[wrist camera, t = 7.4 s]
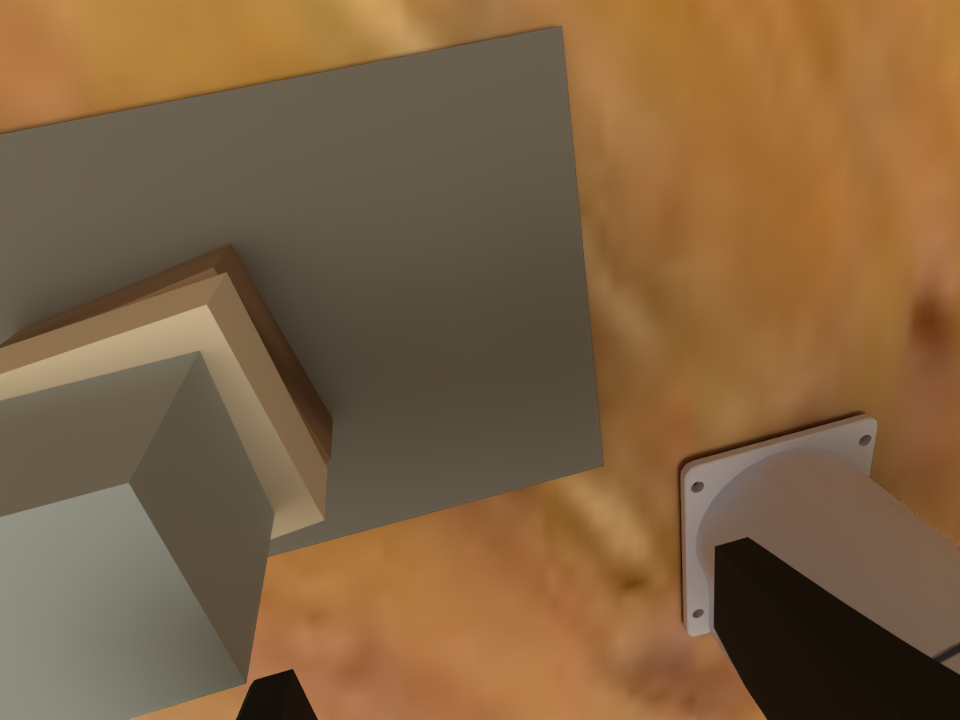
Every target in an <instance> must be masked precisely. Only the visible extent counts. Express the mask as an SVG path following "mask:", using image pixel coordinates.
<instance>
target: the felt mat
mask: <svg viewBox="0 0 960 720" xmlns="http://www.w3.org/2000/svg"><path fill="white" fill-rule="evenodd" d="M228 244H231V246H232V247H233V249H234V251H235V252H236V254H237V256H238V258H239V259H240V261H241V263H242V264H243V266H244V268H245V270H246V271H247V273H248V275H249V276H250V278H251V280H252V282H253V283H254V285H255V287H256V288H257V290H258V292H259V294H260V295H261V297H262V299H263V300H264V302H265V304H266V306H267V307H268V309H269V311H270V312H271V314H272V316H273V318H274V319H275V321H276V323H277V324H278V326H279V328H280V330H281V331H282V333H283V335H284V336H285V338H286V340H287V342H288V343H289V345H290V347H291V348H292V350H293V352H294V354H295V355H296V357H297V359H298V360H299V362H300V364H301V366H302V367H303V369H304V371H305V372H306V374H307V376H308V378H309V379H310V381H311V383H312V384H313V386H314V388H315V390H316V391H317V393H318V395H319V396H320V398H321V400H322V402H323V403H324V405H325V407H326V408H327V410H328V412H329V413H330V415H331V417H332V419H333V429H332V451H331V460H330V461H327V462H325V465H326V467H327V483H326V501H325V519H324V521H321V522H318V523H315V524H313V525H310V526H307V527H304V528H302V529H299V530H296V531H293V532H290V533H288V534H285V535H282V536H279V537H276V538H274V539H271V540H270V545H269V551H268V557H269V556H273V555H277V554H281V553H284V552H288V551H292V550H295V549H299V548H303V547H306V546H310V545H314V544H317V543H321V542H325V541H329V540H332V539H336V538H340V537H343V536H347V535H351V534H354V533H358V532H362V531H365V530H369V529H373V528H377V527H380V526H384V525H388V524H391V523H395V522H399V521H402V520H406V519H410V518H413V517H417V516H421V515H425V514H428V513H432V512H436V511H439V510H443V509H447V508H450V507H454V506H458V505H461V504H465V503H469V502H473V501H476V500H480V499H484V498H487V497H491V496H495V495H498V494H502V493H506V492H509V491H513V490H517V489H521V488H524V487H528V486H532V485H535V484H539V483H543V482H546V481H550V480H554V479H557V478H561V477H565V476H569V475H572V474H576V473H580V472H583V471H587V470H591V469H594V468H598V467H602V466H604V463H603V452H602V442H601V431H600V420H599V410H598V399H597V389H596V378H595V368H594V357H593V347H592V336H591V326H590V315H589V305H588V294H587V284H586V273H585V263H584V252H583V242H582V231H581V221H580V210H579V199H578V189H577V178H576V168H575V157H574V147H573V136H572V126H571V115H570V105H569V94H568V84H567V73H566V63H565V52H564V42H563V31H562V26H559V27H554V28H548V29H543V30H538V31H533V32H528V33H523V34H517V35H512V36H507V37H502V38H497V39H491V40H486V41H481V42H476V43H471V44H466V45H460V46H455V47H450V48H445V49H440V50H435V51H429V52H424V53H419V54H414V55H409V56H404V57H398V58H393V59H388V60H383V61H378V62H372V63H367V64H362V65H357V66H352V67H347V68H341V69H336V70H331V71H326V72H321V73H316V74H310V75H305V76H300V77H295V78H290V79H285V80H279V81H274V82H269V83H264V84H259V85H253V86H248V87H243V88H238V89H233V90H228V91H222V92H217V93H212V94H207V95H202V96H197V97H191V98H186V99H181V100H176V101H171V102H166V103H160V104H155V105H150V106H145V107H140V108H135V109H129V110H124V111H119V112H114V113H109V114H103V115H98V116H93V117H88V118H83V119H78V120H72V121H67V122H62V123H57V124H52V125H47V126H41V127H36V128H31V129H26V130H21V131H16V132H10V133H5V134H0V345H1V344H2V343H3V342H5V341H6V340H7V339H9V338H10V337H11V336H12V335H14V334H15V333H16V332H18V331H20V330H23V329H25V328H27V327H30V326H32V325H35V324H37V323H39V322H42V321H44V320H47V319H49V318H51V317H54V316H56V315H59V314H61V313H64V312H66V311H68V310H71V309H73V308H76V307H78V306H80V305H83V304H85V303H88V302H90V301H93V300H95V299H97V298H100V297H102V296H105V295H107V294H109V293H112V292H114V291H117V290H119V289H122V288H124V287H126V286H129V285H131V284H134V283H136V282H138V281H141V280H143V279H146V278H148V277H150V276H153V275H155V274H158V273H160V272H163V271H165V270H167V269H170V268H172V267H175V266H177V265H179V264H182V263H184V262H187V261H189V260H192V259H194V258H196V257H199V256H201V255H204V254H206V253H208V252H211V251H213V250H216V249H218V248H221V247H223V246H225V245H228Z"/></svg>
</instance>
